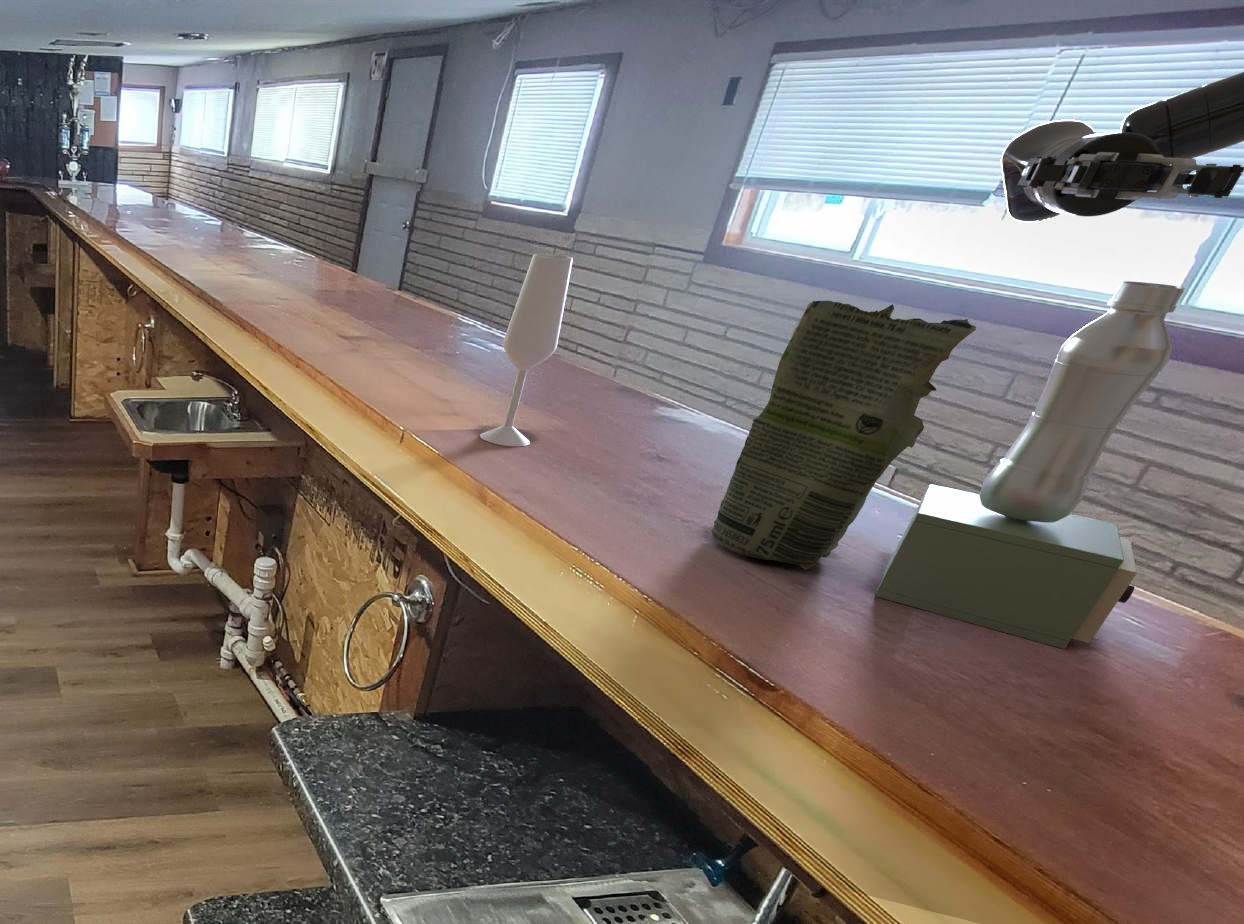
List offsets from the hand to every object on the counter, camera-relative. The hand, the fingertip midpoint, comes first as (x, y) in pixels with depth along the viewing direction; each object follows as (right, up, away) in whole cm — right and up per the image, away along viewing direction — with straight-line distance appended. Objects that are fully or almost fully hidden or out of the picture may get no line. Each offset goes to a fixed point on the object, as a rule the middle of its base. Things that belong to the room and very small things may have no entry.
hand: (1152, 178), depth 80 cm
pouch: (-24, -33, +14) cm, 43 cm away
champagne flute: (-38, -14, +46) cm, 61 cm away
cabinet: (-11, -38, +5) cm, 40 cm away
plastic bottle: (-11, -31, +1) cm, 33 cm away
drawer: (-10, -38, +4) cm, 39 cm away
